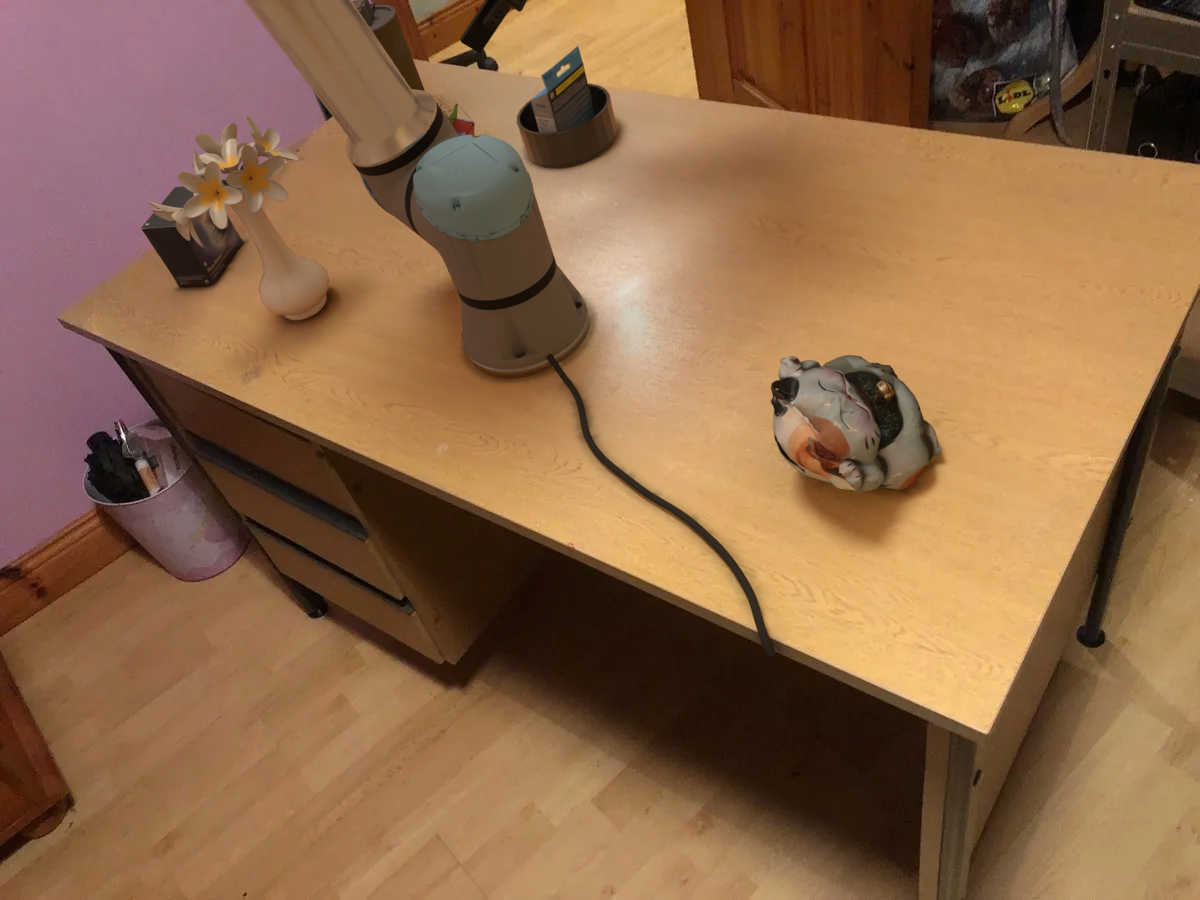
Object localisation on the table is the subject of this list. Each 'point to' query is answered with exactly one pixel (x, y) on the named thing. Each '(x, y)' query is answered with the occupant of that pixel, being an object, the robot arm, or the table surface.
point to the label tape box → (563, 96)
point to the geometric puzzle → (461, 123)
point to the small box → (192, 244)
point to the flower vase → (251, 214)
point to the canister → (390, 39)
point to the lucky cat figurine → (850, 424)
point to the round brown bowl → (570, 135)
